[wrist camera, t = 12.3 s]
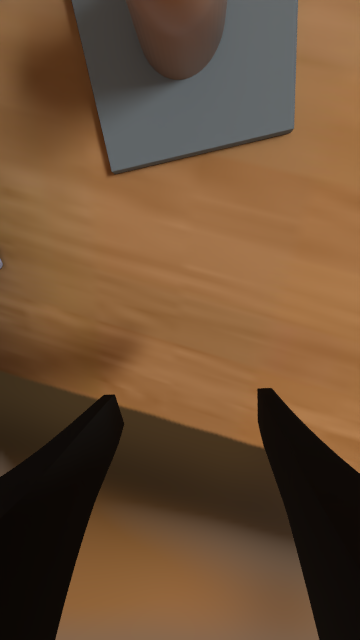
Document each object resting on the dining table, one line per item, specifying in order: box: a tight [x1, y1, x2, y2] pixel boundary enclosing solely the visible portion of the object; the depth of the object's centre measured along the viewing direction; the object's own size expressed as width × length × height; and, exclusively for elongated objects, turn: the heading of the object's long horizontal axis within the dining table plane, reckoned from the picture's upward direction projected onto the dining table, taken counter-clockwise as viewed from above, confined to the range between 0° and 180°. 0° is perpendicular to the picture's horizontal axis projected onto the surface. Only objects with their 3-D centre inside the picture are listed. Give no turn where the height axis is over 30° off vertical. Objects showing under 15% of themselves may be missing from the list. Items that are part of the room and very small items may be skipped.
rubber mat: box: [72, 0, 298, 174], centre depth 12 cm, size 12×12×1 cm
